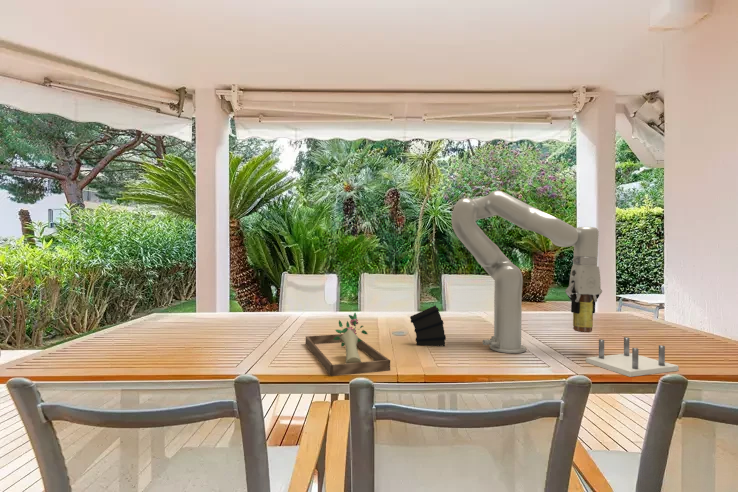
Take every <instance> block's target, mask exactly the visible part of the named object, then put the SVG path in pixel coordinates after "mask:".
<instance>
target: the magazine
mask: <svg viewBox="0 0 738 492" xmlns="http://www.w3.org/2000/svg"><path fill="white" fill-rule="evenodd" d="M409 318H410V323H411V324H412V325H413V327H414V333H415V336H416V337H415V343H416V346H423V347H424V346H427V347H428V346H431V347H445V346H446V340H447V337H446V334H445V328H444V320H443V319H442V316H441V314H440V310H439V307H437V305H436V304H435V305H433V306H431V307H429V308H426V309H424V310H422V311H420V312H417V313H415V314H412V315H411V316H409Z"/></svg>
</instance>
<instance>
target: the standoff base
mask: <svg viewBox="0 0 738 492" xmlns="http://www.w3.org/2000/svg"><path fill="white" fill-rule="evenodd" d="M631 349H632V350H631V352H630V337H628V336H624V337H623V353H618V354H611V355H610V354H609V355H605V339H601V338H600V339H598V355H597V356H589V357H585V363H587V364H590V365H593V366H596V367H599V368H602V369H605V370H609V371H611V372H613V373H616V374H620V375H623V376H626V377H629V378H631V377H639V376H648V375H655V374H663V373H672V372H679V365H677V364H673V363H669V362H666V346H665V345H658V359H655V358H651V357H647V356H644V355H639V348H638V347H632V348H631Z"/></svg>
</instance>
